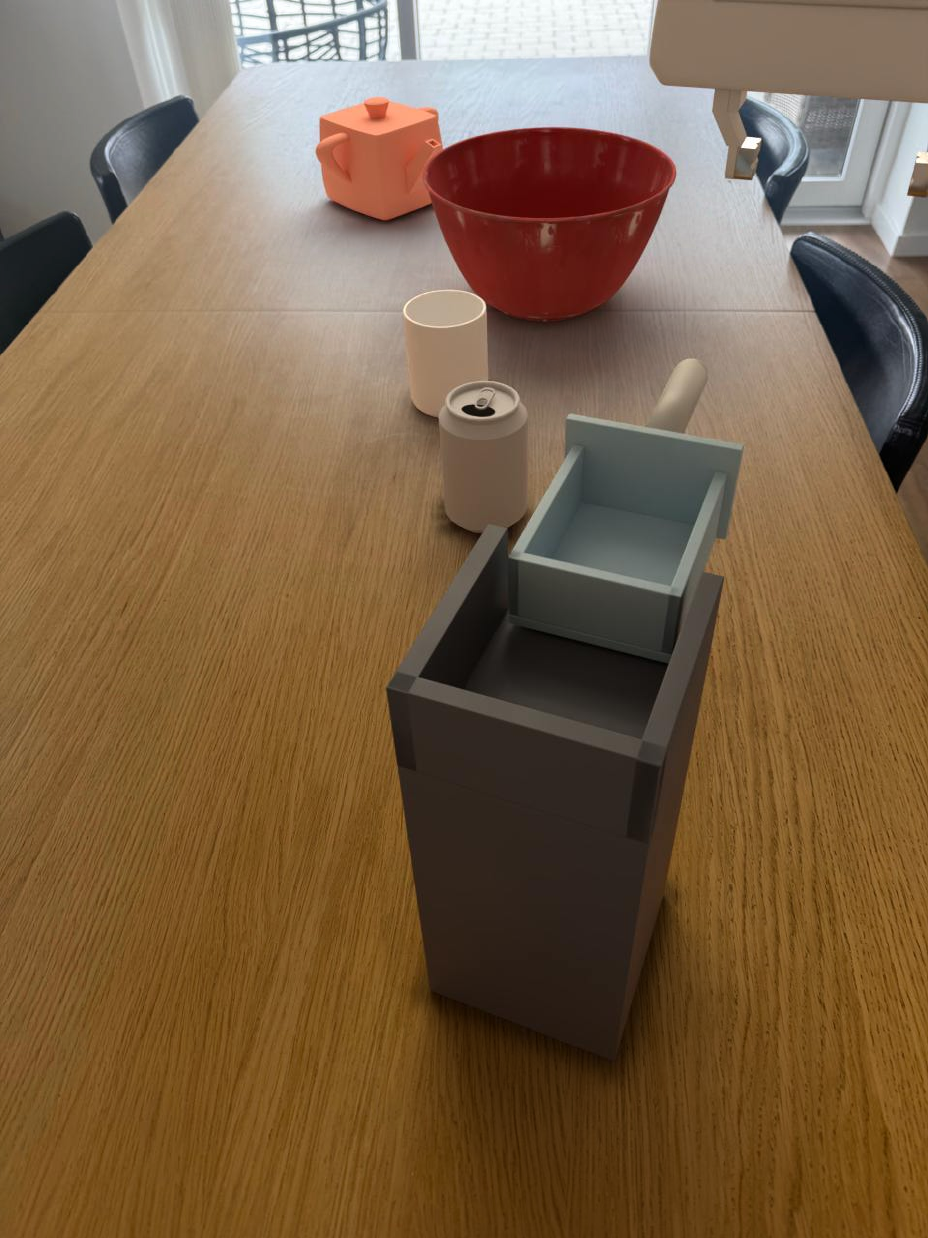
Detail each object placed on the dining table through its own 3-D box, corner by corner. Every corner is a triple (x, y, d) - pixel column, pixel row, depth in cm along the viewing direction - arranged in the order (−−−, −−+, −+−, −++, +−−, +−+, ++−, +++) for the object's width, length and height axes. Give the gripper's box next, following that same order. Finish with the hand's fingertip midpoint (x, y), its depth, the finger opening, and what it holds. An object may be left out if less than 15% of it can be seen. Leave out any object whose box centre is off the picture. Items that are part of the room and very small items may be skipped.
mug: (440, 358, 109) (434, 270, 102) (509, 368, 107) (508, 278, 100) (399, 413, 101) (389, 321, 94) (473, 425, 99) (469, 332, 92)
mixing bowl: (707, 284, 120) (724, 152, 109) (572, 379, 105) (577, 237, 94) (526, 232, 134) (526, 111, 123) (384, 310, 118) (370, 179, 108)
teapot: (296, 209, 143) (280, 107, 134) (409, 169, 154) (401, 71, 144) (381, 246, 132) (370, 137, 123) (496, 200, 143) (494, 96, 133)
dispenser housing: (664, 893, 60) (724, 575, 42) (614, 1062, 52) (661, 766, 34) (498, 838, 63) (487, 523, 45) (429, 991, 56) (385, 687, 38)
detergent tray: (761, 435, 58) (778, 349, 54) (681, 667, 44) (696, 575, 40) (615, 409, 60) (621, 326, 57) (498, 621, 47) (496, 530, 43)
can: (432, 529, 87) (423, 413, 78) (463, 482, 92) (457, 368, 83) (511, 546, 85) (509, 428, 76) (538, 497, 90) (539, 382, 81)
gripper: (647, -131, 44) (624, 186, 53) (1165, -131, 37) (1034, 228, 47) (679, -148, 48) (653, 148, 57) (1151, -151, 42) (1034, 182, 51)
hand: (828, 184), depth 52 cm, fingers open, 8 cm apart
